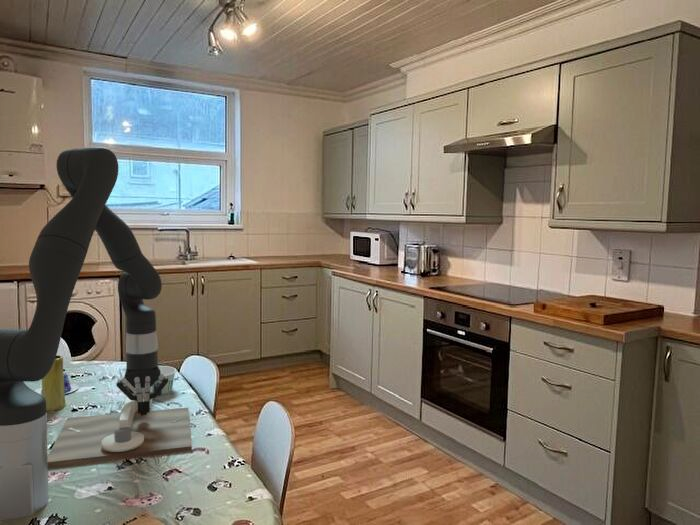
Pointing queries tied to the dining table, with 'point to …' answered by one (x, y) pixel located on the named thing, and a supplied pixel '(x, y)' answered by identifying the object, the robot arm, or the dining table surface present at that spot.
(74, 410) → the dining table surface
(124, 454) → the board
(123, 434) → the white pivot lever
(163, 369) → the food container
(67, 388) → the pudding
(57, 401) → the vase
